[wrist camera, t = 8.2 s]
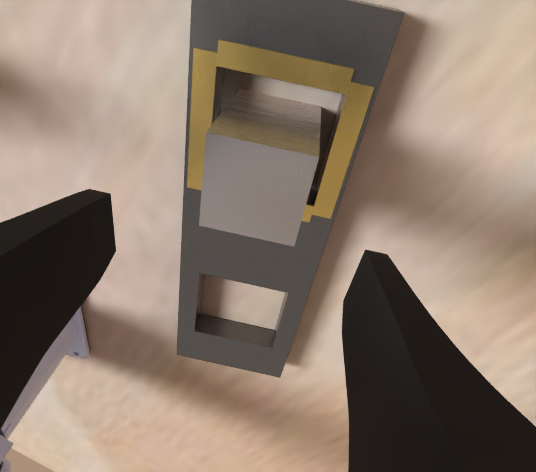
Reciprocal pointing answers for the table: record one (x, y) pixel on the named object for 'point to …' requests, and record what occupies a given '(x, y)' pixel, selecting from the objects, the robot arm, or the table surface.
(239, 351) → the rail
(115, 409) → the table surface
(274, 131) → the grey rectangular block
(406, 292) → the robot arm
